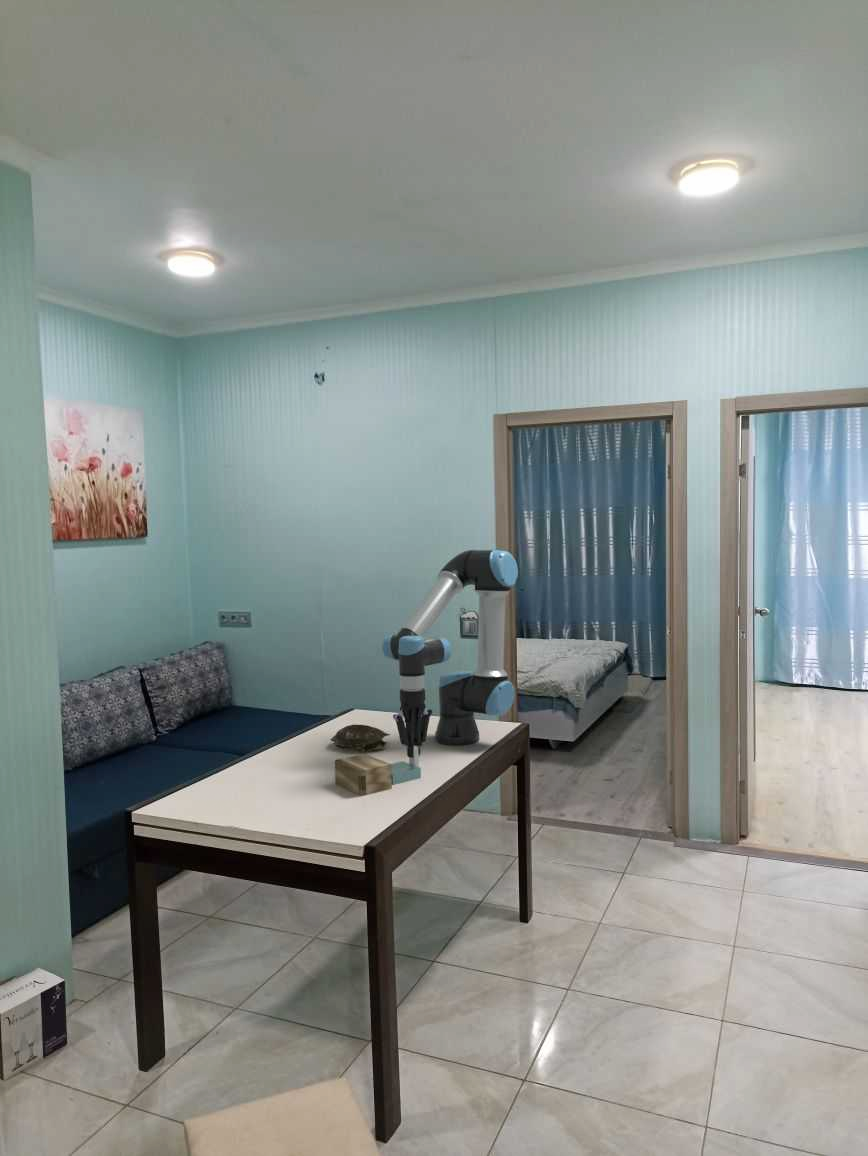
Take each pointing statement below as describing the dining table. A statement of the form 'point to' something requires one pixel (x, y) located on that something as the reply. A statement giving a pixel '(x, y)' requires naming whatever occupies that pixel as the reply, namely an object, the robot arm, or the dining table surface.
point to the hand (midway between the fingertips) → (413, 767)
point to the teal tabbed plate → (404, 772)
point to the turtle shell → (360, 738)
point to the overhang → (363, 774)
